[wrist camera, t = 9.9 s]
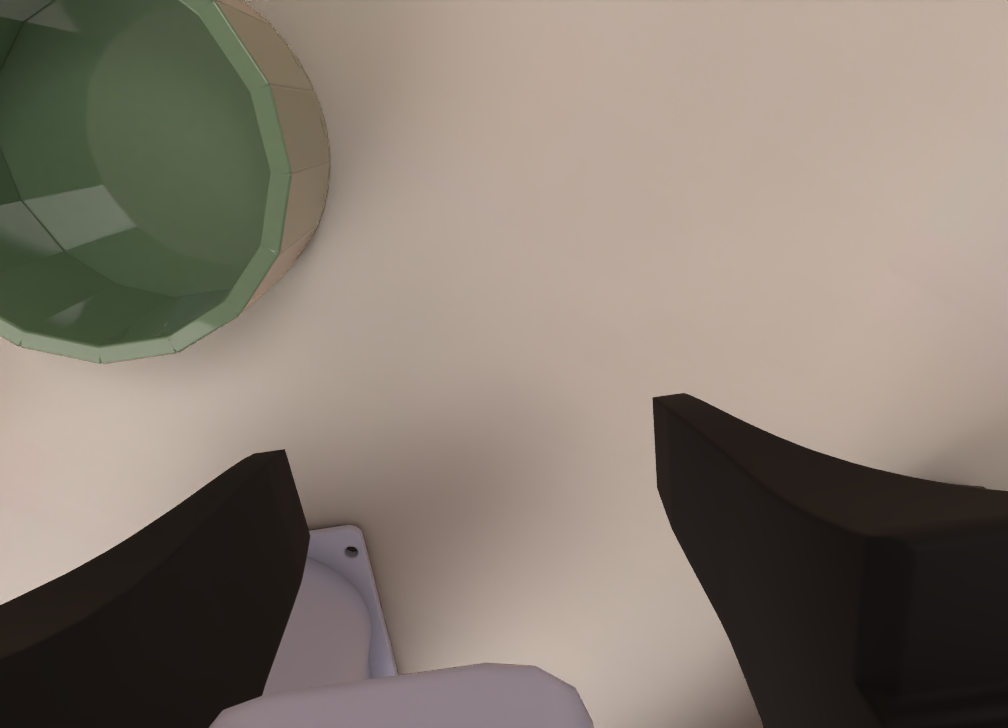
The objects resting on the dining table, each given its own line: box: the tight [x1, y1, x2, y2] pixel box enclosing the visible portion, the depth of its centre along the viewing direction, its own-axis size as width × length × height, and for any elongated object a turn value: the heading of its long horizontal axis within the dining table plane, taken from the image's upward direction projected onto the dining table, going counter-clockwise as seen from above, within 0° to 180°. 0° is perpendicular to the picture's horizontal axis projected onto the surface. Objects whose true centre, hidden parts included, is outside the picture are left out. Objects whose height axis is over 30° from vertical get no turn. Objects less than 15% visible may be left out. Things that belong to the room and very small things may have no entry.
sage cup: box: [0, 0, 330, 364], centre depth 17 cm, size 10×10×5 cm
